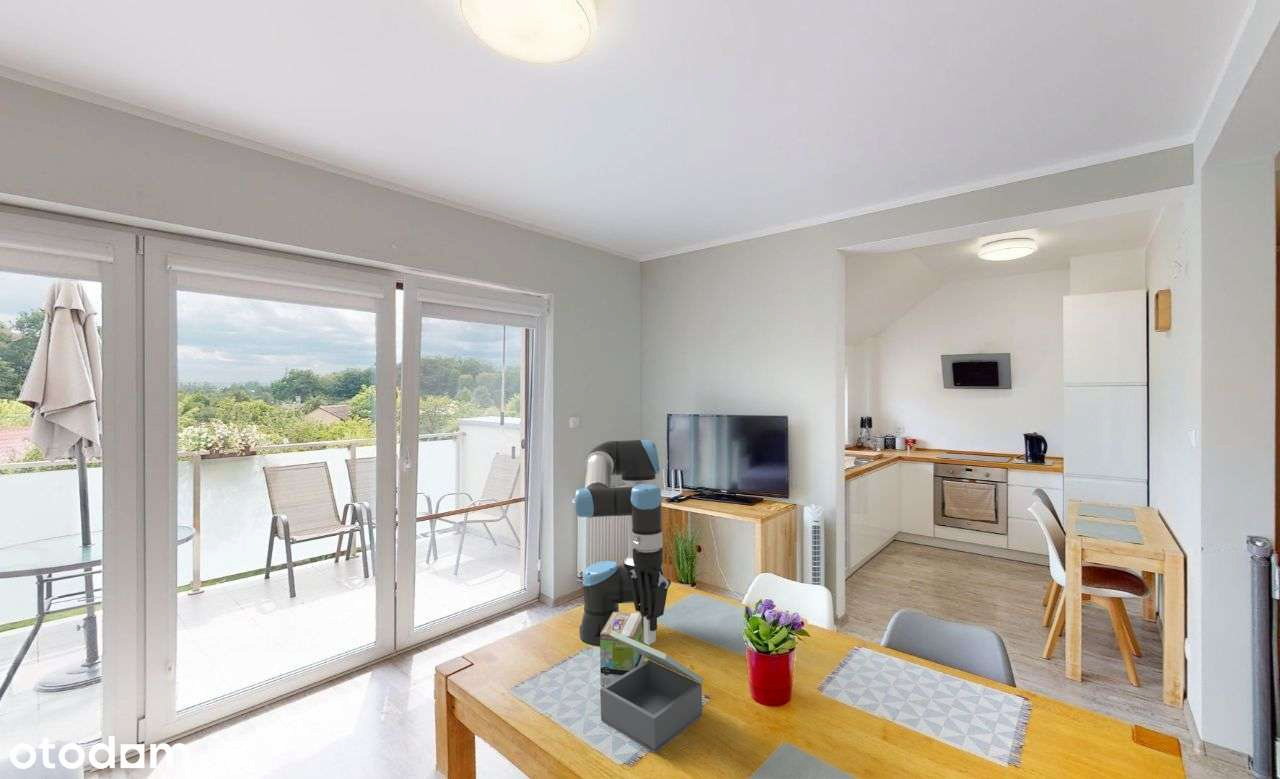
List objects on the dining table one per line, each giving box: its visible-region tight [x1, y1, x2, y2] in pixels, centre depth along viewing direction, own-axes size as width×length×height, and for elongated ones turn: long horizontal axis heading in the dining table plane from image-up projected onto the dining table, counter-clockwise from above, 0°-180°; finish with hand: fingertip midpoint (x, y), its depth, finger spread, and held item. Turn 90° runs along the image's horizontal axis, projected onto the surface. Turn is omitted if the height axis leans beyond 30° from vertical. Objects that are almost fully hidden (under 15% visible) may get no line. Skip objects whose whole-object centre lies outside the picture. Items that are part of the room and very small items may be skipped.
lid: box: [610, 631, 705, 684], centre depth 133 cm, size 18×18×1 cm
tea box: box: [599, 611, 645, 686], centre depth 153 cm, size 15×10×15 cm
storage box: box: [599, 659, 703, 754], centre depth 132 cm, size 18×18×8 cm
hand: (649, 641), depth 131 cm, fingers closed
